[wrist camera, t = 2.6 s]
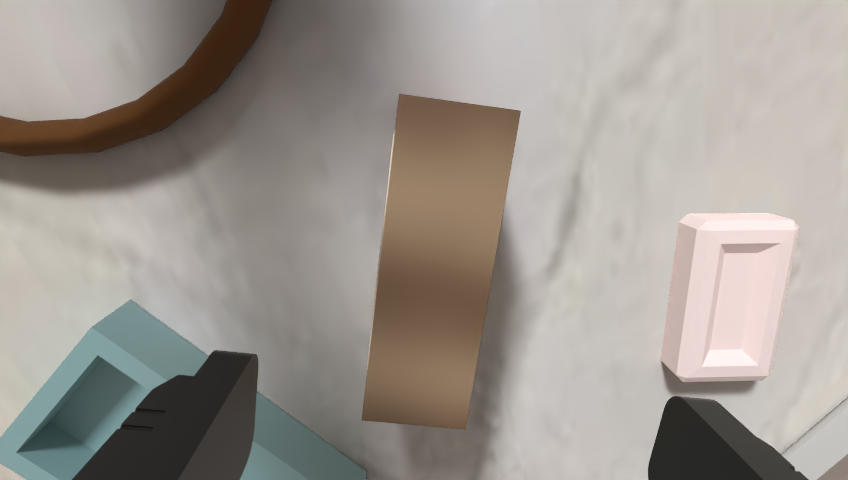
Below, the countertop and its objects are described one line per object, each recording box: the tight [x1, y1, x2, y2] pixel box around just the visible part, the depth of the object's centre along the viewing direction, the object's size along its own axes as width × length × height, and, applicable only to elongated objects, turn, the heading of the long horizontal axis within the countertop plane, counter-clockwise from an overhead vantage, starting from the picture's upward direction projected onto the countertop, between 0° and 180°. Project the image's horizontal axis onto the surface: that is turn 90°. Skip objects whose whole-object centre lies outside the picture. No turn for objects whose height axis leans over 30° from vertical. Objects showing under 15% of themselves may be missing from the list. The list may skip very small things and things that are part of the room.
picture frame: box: [362, 94, 521, 429], centre depth 22 cm, size 12×4×9 cm, turn 173°
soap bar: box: [661, 213, 800, 382], centre depth 27 cm, size 5×9×2 cm, turn 0°
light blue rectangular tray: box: [0, 300, 367, 480], centre depth 27 cm, size 16×9×4 cm, turn 48°
